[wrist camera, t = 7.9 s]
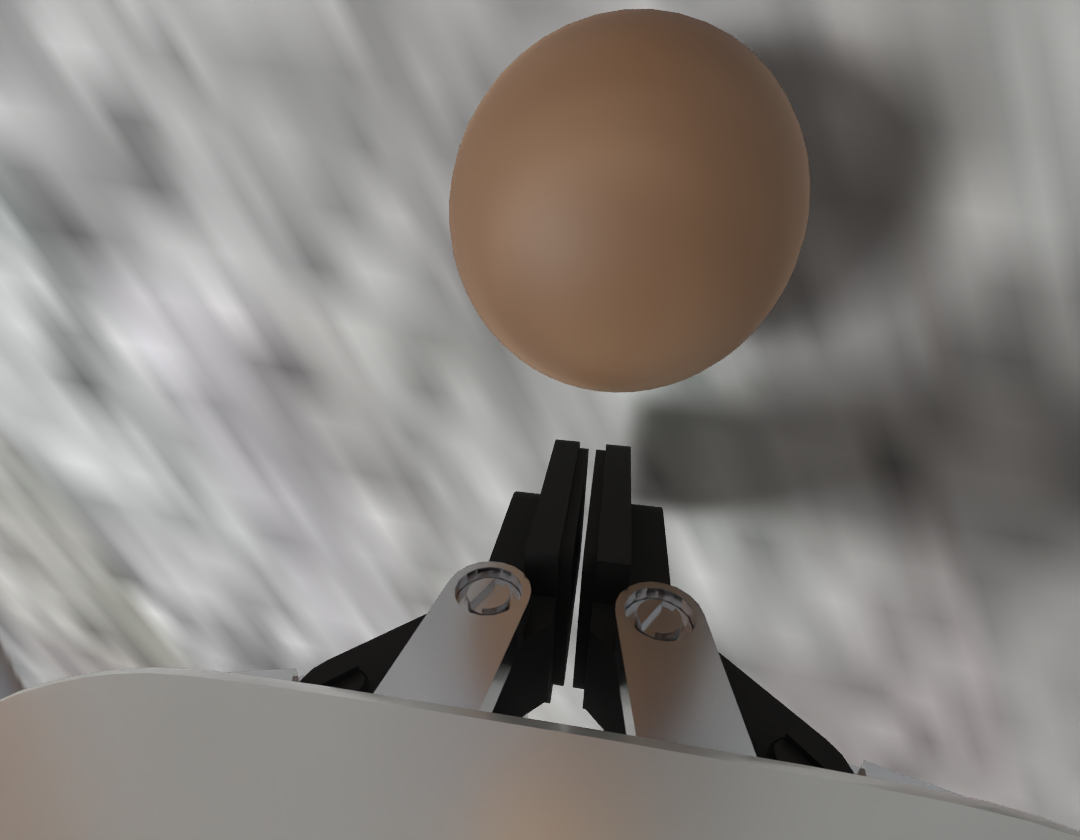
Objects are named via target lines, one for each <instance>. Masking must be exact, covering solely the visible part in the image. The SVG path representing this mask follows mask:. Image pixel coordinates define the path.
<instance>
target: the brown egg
mask: <svg viewBox="0 0 1080 840" xmlns="http://www.w3.org/2000/svg"><path fill="white" fill-rule="evenodd" d="M809 206H810V173H809V164H808V155H807V149H806V146H805V142H804V138H803V134H802V130H801V127H800V124H799V122H798V120H797V118H796V115H795V113H794V111H793V108H792V106H791V104H790V102H789V100H788V98H787V96H786V94H785V92H784V91H783V89H782V88H781V86H780V85H779V83H778V82H777V80H776V78H775V77H774V75H773V74H772V72H771V71H770V70H769V69H768V68H767V67H766V66H765V65H764V64H763V63H762V61H761V60H760V59H759V58H758V57H757V56H756V55H755V54H754V53H753V52H752V51H751V50H749V49H748V48H747V47H746V46H744V45H743V44H742V43H740V42H739V41H738V40H737V39H735V38H734V37H733V36H731V35H730V34H728V33H726V32H724V31H722V30H720V29H718V28H716V27H714V26H713V25H711V24H709V23H707V22H704V21H701V20H698V19H695V18H692V17H689V16H686V15H683V14H680V13H674V12H668V11H661V10H654V9H624V10H618V11H613V12H607V13H602V14H597V15H593V16H590V17H588V18H585V19H582V20H579V21H576V22H573V23H570V24H568V25H566V26H564V27H562V28H560V29H558V30H556V31H555V32H553V33H551V34H549V35H547V36H545V37H543V38H542V39H541V40H539V41H538V42H537V43H535V44H534V45H532V46H531V47H530V48H528V49H527V50H526V51H524V52H523V53H522V54H521V55H520V56H519V57H517V58H516V59H515V60H514V61H513V62H512V63H511V64H510V65H509V66H508V67H507V68H506V69H505V70H504V71H503V72H502V73H501V75H500V76H499V77H498V79H497V80H496V81H495V83H494V84H493V85H492V87H491V88H490V89H489V91H488V92H487V93H486V95H485V96H484V98H483V99H482V101H481V102H480V104H479V106H478V108H477V110H476V111H475V113H474V115H473V117H472V118H471V120H470V122H469V124H468V127H467V129H466V132H465V134H464V137H463V139H462V142H461V144H460V147H459V151H458V155H457V159H456V163H455V167H454V171H453V176H452V182H451V191H450V199H449V224H450V232H451V239H452V246H453V253H454V258H455V261H456V265H457V269H458V272H459V275H460V278H461V280H462V283H463V285H464V287H465V290H466V292H467V294H468V296H469V298H470V300H471V302H472V304H473V306H474V308H475V309H476V311H477V313H478V315H479V316H480V318H481V319H482V321H483V322H484V323H485V325H486V326H487V327H488V329H489V330H490V331H491V332H492V334H493V335H494V336H495V337H496V338H497V339H498V340H499V341H500V342H501V343H502V344H503V345H504V346H505V347H506V348H507V349H508V350H510V351H511V352H512V353H513V354H514V355H515V356H517V357H518V358H519V359H520V360H522V361H523V362H524V363H526V364H527V365H529V366H530V367H532V368H533V369H535V370H537V371H539V372H541V373H542V374H544V375H546V376H548V377H550V378H553V379H555V380H558V381H560V382H563V383H565V384H569V385H572V386H576V387H579V388H584V389H589V390H595V391H604V392H636V391H643V390H651V389H655V388H659V387H663V386H668V385H670V384H673V383H676V382H679V381H682V380H685V379H687V378H689V377H691V376H693V375H695V374H698V373H700V372H702V371H703V370H705V369H707V368H708V367H710V366H712V365H713V364H715V363H717V362H718V361H720V360H722V359H723V358H724V357H726V356H727V355H728V354H730V353H731V352H732V351H734V350H735V349H736V348H738V347H739V346H740V345H741V344H742V343H743V342H744V341H745V340H746V339H747V338H748V337H749V336H750V335H751V334H752V333H753V332H754V331H755V330H756V329H757V327H758V326H759V325H760V324H761V323H762V321H763V320H764V319H765V318H766V316H767V315H768V314H769V313H770V311H771V310H772V309H773V307H774V306H775V304H776V302H777V301H778V299H779V298H780V296H781V295H782V293H783V292H784V290H785V288H786V286H787V284H788V281H789V279H790V277H791V275H792V273H793V271H794V269H795V266H796V263H797V260H798V257H799V254H800V251H801V247H802V244H803V241H804V238H805V234H806V228H807V222H808V217H809Z"/></svg>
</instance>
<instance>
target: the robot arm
mask: <svg viewBox="0 0 1080 840" xmlns="http://www.w3.org/2000/svg"><path fill="white" fill-rule="evenodd" d="M588 452H589V449H584V448H580V442H576V441H566V440H556V441H555V444H554V448H553V451H552V455H551V459H550V462H549V466H548V469H547V473H546V476H545V480H544V484H543V487H542V491H541V494H535V493H526V492H517V491H516V492H514V494H513V497H512V499H511V502H510V505H509V508H508V510H507V513H506V516H505V519H504V521H503V524H502V527H501V530H500V532H499V535H498V538H497V541H496V543H495V546H494V549H493V552H492V554H491V557H490V560H489V562H479V563H476V564H473V565H469V566H467V567H465V568H463V569H462V570H460V571H458V572H457V573H456V574H455V575H454V576H453V577H452V578H451V579H450V580H449V582H448V583H447V585H446V586H445V588H444V589H443V591H442V592H441V594H440V595H439V597H438V598H437V600H436V601H435V603H434V604H433V606H432V607H431V609H430V610H429V612H428V613H427V614H425V615H423V616H421V617H419V618H417V619H415V620H413V621H410V622H408V623H406V624H404V625H402V626H400V627H398V628H395V629H393V630H391V631H389V632H387V633H385V634H383V635H380V636H378V637H376V638H374V639H372V640H370V641H368V642H366V643H363V644H361V645H359V646H357V647H355V648H353V649H351V650H348V651H346V652H344V653H342V654H340V655H338V656H336V657H333V658H331V659H329V660H327V661H325V662H324V663H322V664H320V665H319V666H317V667H315V668H314V669H312V670H311V671H310V672H309V673H308V674H307V675H303V676H298V674H297V670H296V669H278V670H259V671H241V672H218V671H208V670H198V669H188V668H136V669H121V670H107V671H101V672H96V673H90V674H84V675H78V676H73V677H67V678H63V679H59V680H55V681H51V682H47V683H43V684H40V685H37V686H34V687H31V688H28V689H25V690H21V691H19V692H17V693H14V694H12V695H10V696H7V697H5V698H3V699H0V840H1080V831H1077V830H1075V829H1072V828H1069V827H1067V826H1064V825H1061V824H1059V823H1056V822H1053V821H1051V820H1048V819H1045V818H1043V817H1040V816H1036V815H1033V814H1029V813H1026V812H1022V811H1019V810H1015V809H1012V808H1009V807H1005V806H1002V805H998V804H995V803H991V802H988V801H983V800H978V799H974V798H969V797H965V796H962V795H959V794H956V793H953V792H951V791H948V790H945V789H942V788H939V787H937V786H934V785H931V784H928V783H926V782H923V781H920V780H917V779H915V778H912V777H909V776H906V775H903V774H901V773H898V772H895V771H892V770H890V769H887V768H884V767H881V766H878V765H876V764H873V763H870V762H867V761H865V760H864V761H863V763H862V765H861V767H857V766H854V765H852V764H849V763H847V761H846V760H845V758H844V757H843V756H842V754H841V753H840V752H839V751H838V750H837V749H836V748H835V747H834V746H833V745H831V744H830V743H829V742H828V741H827V740H826V739H825V738H824V737H823V736H821V735H820V734H819V733H818V732H816V731H815V730H814V729H813V728H811V727H810V726H809V725H808V724H807V723H805V722H804V721H803V720H802V719H800V718H799V717H798V716H797V715H795V714H794V713H793V712H792V711H790V710H789V709H788V708H787V707H786V706H784V705H783V704H782V703H781V702H779V701H778V700H777V699H776V698H774V697H773V696H772V695H771V694H770V693H768V692H767V691H766V690H765V689H763V688H762V687H761V686H760V685H758V684H757V683H756V682H755V681H753V680H752V679H751V678H750V677H749V676H747V675H746V674H745V673H744V672H742V671H741V670H740V669H739V668H737V667H736V666H735V665H734V664H732V663H731V662H730V661H729V660H728V659H726V658H725V657H724V656H723V655H721V654H720V653H719V652H718V650H717V648H716V645H715V642H714V639H713V637H712V634H711V631H710V629H709V626H708V623H707V620H706V618H705V615H704V613H703V611H702V609H701V608H700V606H699V604H698V603H697V602H696V601H695V600H694V599H693V598H692V597H691V596H690V595H688V594H687V593H685V592H684V591H682V590H680V589H679V588H676V587H674V586H671V585H670V575H669V565H668V555H667V546H666V536H665V526H664V516H663V509H662V508H661V507H654V506H645V505H635V504H631V447H628V446H618V445H607V444H606V451H604V450H596V456H595V464H594V473H593V481H592V489H591V498H590V506H589V515H588V523H587V531H586V540H585V548H584V557H583V568H582V579H581V592H580V604H579V617H578V629H577V642H576V654H575V666H574V679H573V687H574V688H580V689H584V699H583V709H586V710H587V711H588V712H589V713H590V715H591V716H592V717H593V718H594V719H595V720H596V722H597V723H598V724H599V725H600V726H601V730H595V729H589V728H582V727H576V726H570V725H564V724H558V723H552V722H546V721H540V720H534V719H528V713H529V712H530V711H532V710H533V709H535V708H536V707H538V706H539V705H541V704H542V703H544V702H546V703H550V700H551V694H552V687H553V684H555V685H561V686H564V680H565V672H566V664H567V657H568V649H569V641H570V633H571V625H572V618H573V610H574V602H575V594H576V586H577V578H578V571H579V563H580V554H581V543H582V530H583V517H584V504H585V491H586V478H587V465H588Z"/></svg>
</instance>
